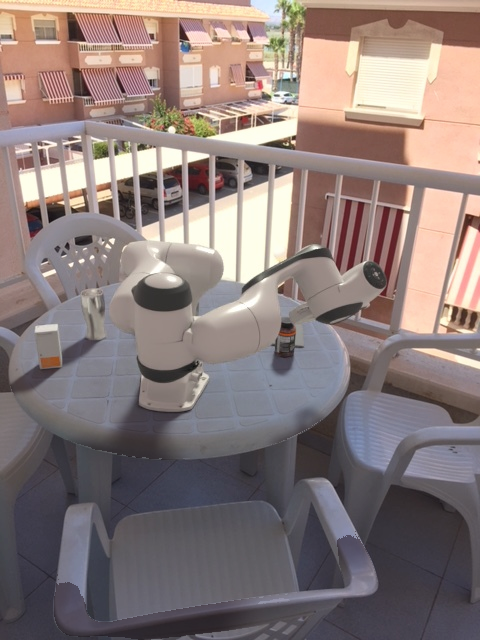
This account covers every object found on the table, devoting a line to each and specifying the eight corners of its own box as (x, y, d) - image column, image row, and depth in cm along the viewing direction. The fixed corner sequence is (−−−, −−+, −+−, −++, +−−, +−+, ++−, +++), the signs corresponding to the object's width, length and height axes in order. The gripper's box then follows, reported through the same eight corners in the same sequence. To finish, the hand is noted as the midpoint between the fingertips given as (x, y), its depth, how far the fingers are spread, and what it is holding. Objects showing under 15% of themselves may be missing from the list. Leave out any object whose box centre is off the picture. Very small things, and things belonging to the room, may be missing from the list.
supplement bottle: (277, 346, 161) (280, 313, 156) (296, 350, 159) (299, 317, 154) (271, 355, 156) (274, 321, 151) (290, 359, 154) (293, 325, 149)
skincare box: (39, 370, 145) (33, 332, 139) (40, 362, 148) (34, 325, 143) (62, 367, 146) (57, 330, 141) (63, 359, 150) (57, 323, 144)
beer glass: (106, 329, 167) (102, 287, 160) (108, 340, 161) (104, 296, 154) (84, 332, 165) (79, 289, 158) (85, 342, 159) (80, 298, 152)
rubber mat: (303, 347, 161) (303, 345, 161) (233, 342, 162) (233, 340, 162) (302, 324, 174) (302, 323, 174) (237, 320, 175) (237, 319, 175)
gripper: (308, 319, 123) (283, 337, 135) (375, 304, 131) (346, 322, 144) (299, 295, 124) (276, 314, 136) (366, 282, 133) (338, 301, 145)
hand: (312, 318), depth 140 cm, fingers closed
